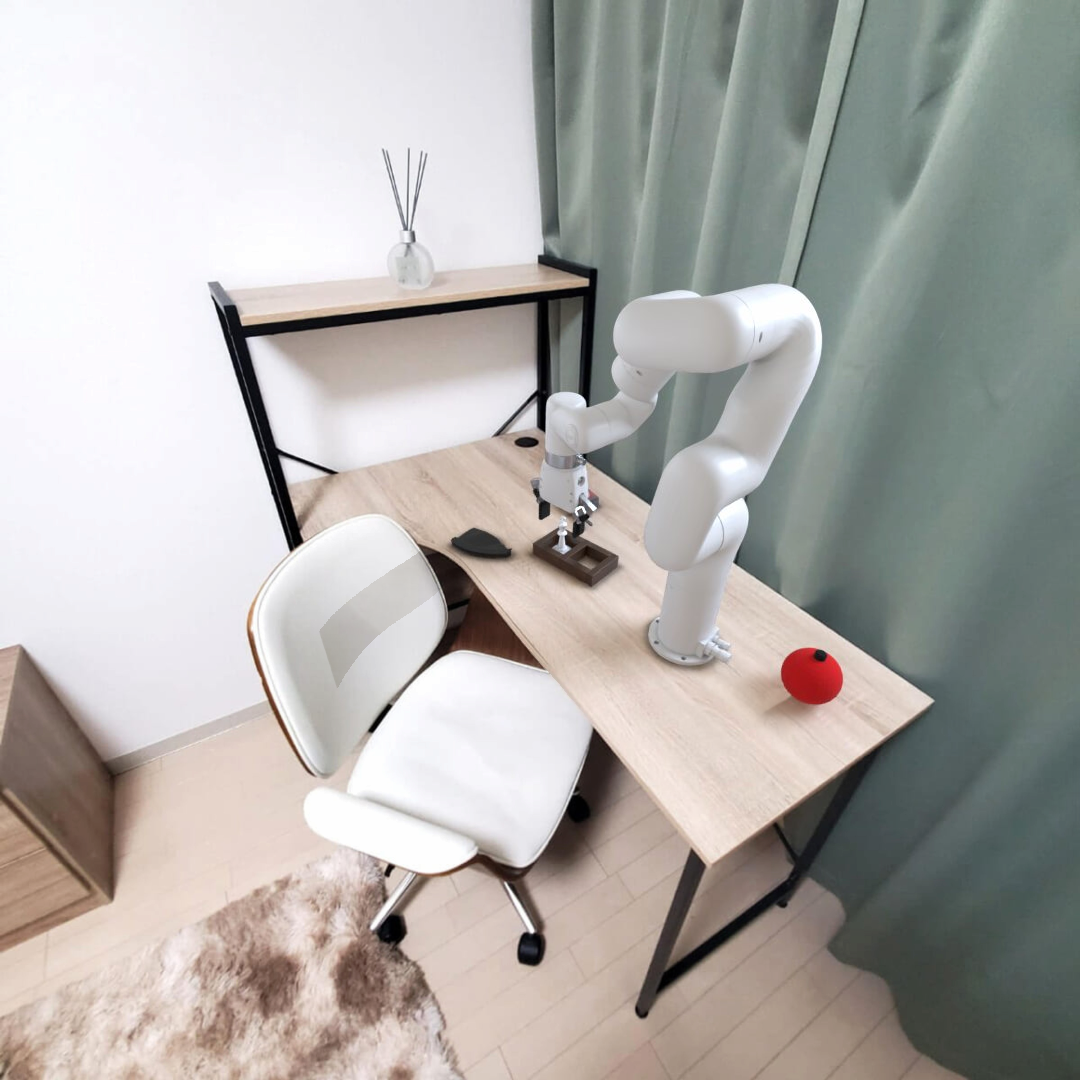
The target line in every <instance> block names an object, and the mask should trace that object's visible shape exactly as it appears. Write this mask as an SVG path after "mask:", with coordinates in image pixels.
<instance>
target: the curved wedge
mask: <svg viewBox="0 0 1080 1080" xmlns="http://www.w3.org/2000/svg"><path fill="white" fill-rule="evenodd" d="M450 542H451V547H452V549H455V550H456V551H459V552H461V553H462V554H465V555H468V556H471V557H476V558H483V559H504V558H510V557H511V556H512V550H513V548H512V547H511V548H507V547H506V546H505V544H503V543H502V542H501V541H500V539H499V538H498V537H496V536H495V535H493V534H491V533H489V532H487V531H486V530H484V529H483V530H482V529H479V528H476V527H472V528H470V529H468V530H467V531H465V532H464V533H462V534H461V535H459V536H454V537H452V538H451V539H450Z"/></svg>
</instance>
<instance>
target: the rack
mask: <svg viewBox="0 0 1080 1080" xmlns="http://www.w3.org/2000/svg"><path fill="white" fill-rule="evenodd" d="M559 530H560V529H559V527H556V528H554V529H553V530H552V531H550V532H548V533H546V534H545V535H543V536H542V537H540V538H539V539H537V540H536V541H534V542H533V543H532V555H534V556H536V557H537V558H539V559H541V560H543V561H545V562H546V563H548V564H549V565H552V566H553V567H555V568H557V569H559V570H560V571H562V572H564V573H566V574H568V575H569V576H571V577H573V578H575V579H576V580H578V581H580V582H582V583H584V584H585V585H588V586H589V587H591V588H593V587H594V586H595V585H596V584H598V583H599V582H600V581H601V580H603V579H604V578H605V577H606V576H608V575H609V574H611V573H612V572H613V571H614V570H616V568H618V567H619V555H618V554H616V553H614V552H612V551H611V550H608V549H606V548H604V547H602V546H600V545H598V544H596V543H594V542H592V541H590V540H588V539H586V538H585V537H582V536H581V535H580V536H578V537H577V538H573V537H572V531H571V530H568V529H567V528H566V529H565V531H567V535H565V536H564V537H565V545H567V546H569V547H570V548H571V549H570V550H569V551H567V552H566V553H565V554H562V553H560V552H558V551H556V550H554V549H553V547H554V546H556V545H558V544H559V538H560V536H559V535H558V534H557V532H558V531H559ZM585 557H587V558H590V559H592V560H593V561H595V562H597V563H598V564H597V565H595V566H593V567H592V568H590V567H588V566H586V565H583V564H582V563H580V562H579V561H581V560H582V559H583V558H585Z"/></svg>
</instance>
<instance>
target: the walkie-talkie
mask: <svg viewBox="0 0 1080 1080" xmlns="http://www.w3.org/2000/svg"><path fill="white" fill-rule="evenodd" d="M588 499H589V501H590V502H591V503H592V504H593V505H594V506H595V507H596V508H598V507H599V503H600V497H599V496H598V495H597V494H595V492H593V491H592V490H591V489H589V488H588ZM583 507H584V506H583ZM584 509H585V507H584ZM585 511H587V510H586V509H585ZM577 513H578V515H579V517H580V516H581V514H580V512H579V510H578V511H577ZM568 514H569V515H572V514H571V513H570V512H568ZM585 524H587V525H588V526H589V527H592V526H593V524H594V523H593V522H592V521H591V520H590V519H587V520H586V521H585Z"/></svg>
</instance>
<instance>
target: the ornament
mask: <svg viewBox="0 0 1080 1080" xmlns="http://www.w3.org/2000/svg"><path fill="white" fill-rule="evenodd" d="M780 677H781V678H780V679H781V682H782V685H783V687H784V689H785V690H786V691H787V693H788V694H790V696H791V697H792V698H794V699H795V700H796V701H798V702H801V703H802V704H806V705H811V706H812V705H813V706H821V705H824V704H827V703H829V702H832V701H833V700H835V698H837V697H838V695H839V694H840V693H841V691H842V688H843V684H844V674H843V671H842V667H841V665H840V664H839V662H838V661H837V660H836V659H835V658H834V656H832V655H831V654H830V653H828V652H826V651H825V650H823V649H820V648H817V647H802V648H797V649H795V650H793V651H792V652H790V653H789V654H788V655H787V656H786V657H785V658H784V660H783V662H782V665H781V668H780Z"/></svg>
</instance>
